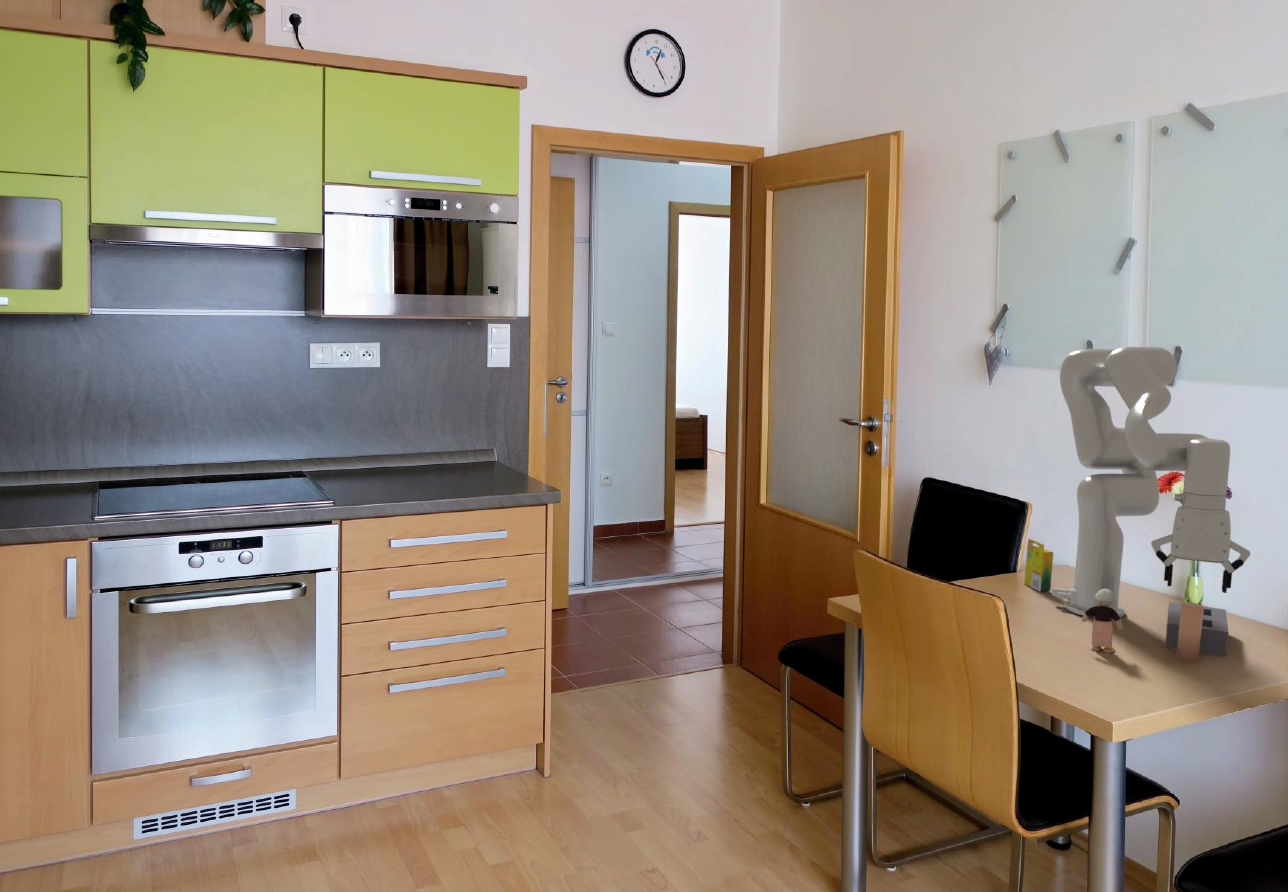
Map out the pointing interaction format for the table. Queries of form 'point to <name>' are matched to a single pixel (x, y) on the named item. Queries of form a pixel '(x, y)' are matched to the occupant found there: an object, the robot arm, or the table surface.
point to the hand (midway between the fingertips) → (1196, 588)
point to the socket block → (1212, 629)
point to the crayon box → (1038, 567)
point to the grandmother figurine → (1102, 621)
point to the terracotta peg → (1189, 632)
